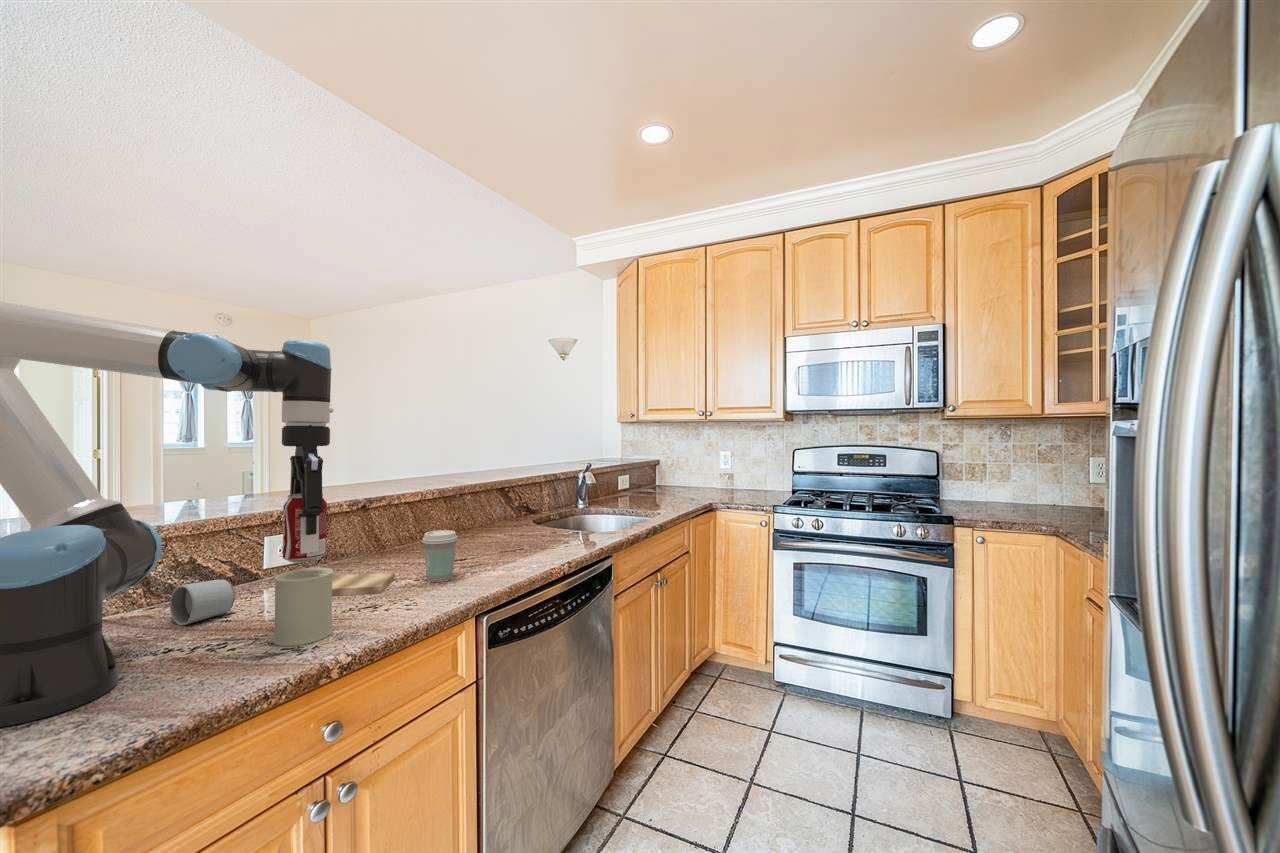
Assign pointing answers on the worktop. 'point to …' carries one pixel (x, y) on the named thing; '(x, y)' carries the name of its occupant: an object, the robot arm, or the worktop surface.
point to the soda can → (294, 528)
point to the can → (303, 606)
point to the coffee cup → (439, 554)
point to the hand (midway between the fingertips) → (304, 548)
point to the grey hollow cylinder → (201, 601)
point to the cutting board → (360, 583)
